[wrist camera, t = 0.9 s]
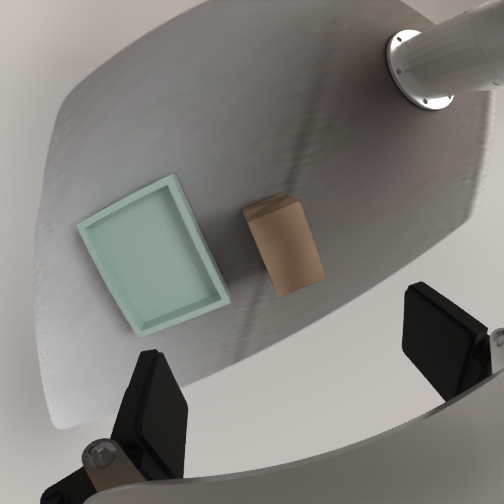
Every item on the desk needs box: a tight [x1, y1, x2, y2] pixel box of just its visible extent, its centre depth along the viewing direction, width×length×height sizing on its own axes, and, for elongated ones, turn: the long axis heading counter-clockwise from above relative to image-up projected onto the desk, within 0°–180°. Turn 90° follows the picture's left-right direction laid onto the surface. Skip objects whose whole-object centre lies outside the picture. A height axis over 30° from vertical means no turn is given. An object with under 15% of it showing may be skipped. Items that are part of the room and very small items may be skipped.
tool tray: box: [76, 174, 231, 338], centre depth 33 cm, size 13×16×3 cm
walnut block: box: [241, 193, 326, 298], centre depth 31 cm, size 5×8×8 cm, turn 22°
